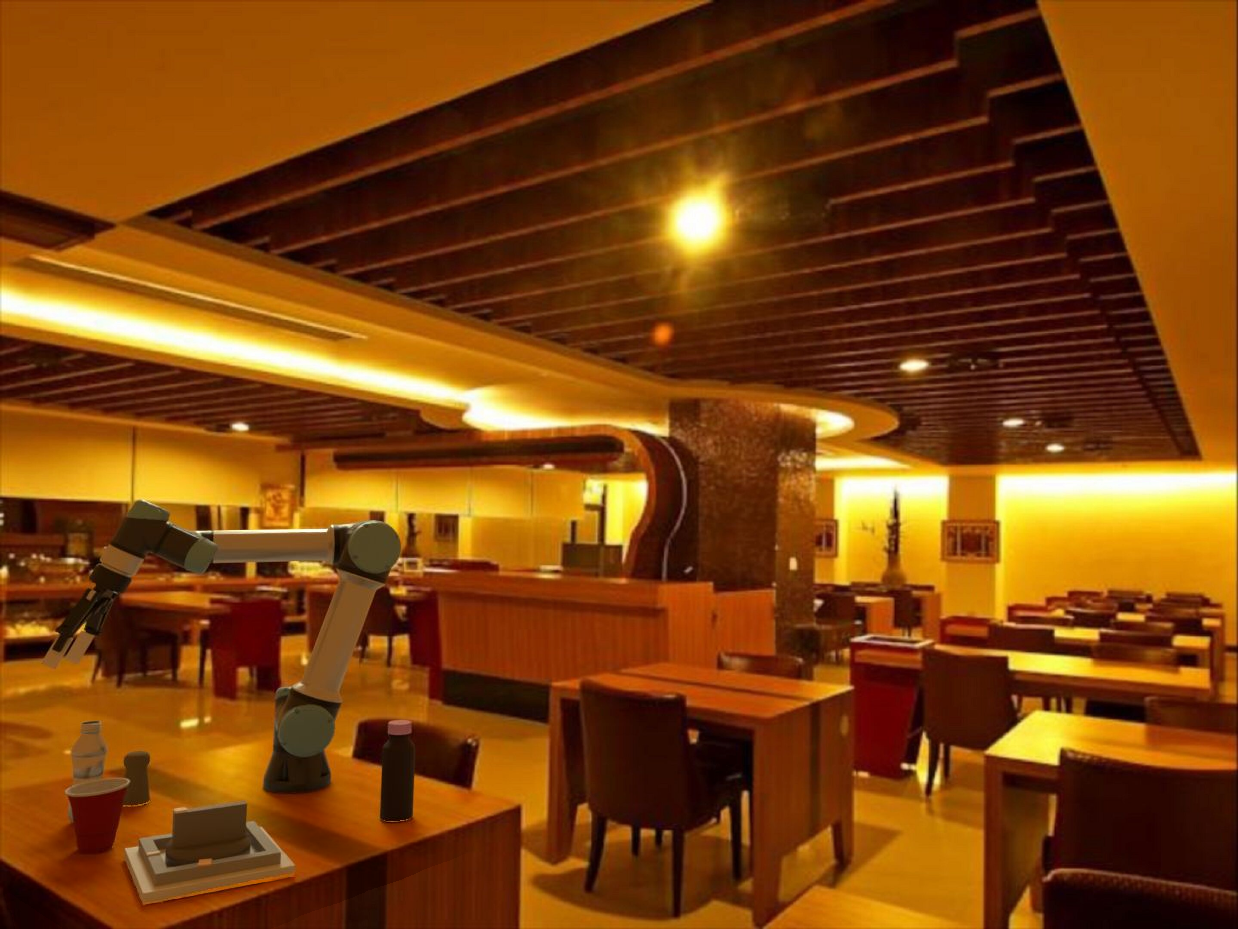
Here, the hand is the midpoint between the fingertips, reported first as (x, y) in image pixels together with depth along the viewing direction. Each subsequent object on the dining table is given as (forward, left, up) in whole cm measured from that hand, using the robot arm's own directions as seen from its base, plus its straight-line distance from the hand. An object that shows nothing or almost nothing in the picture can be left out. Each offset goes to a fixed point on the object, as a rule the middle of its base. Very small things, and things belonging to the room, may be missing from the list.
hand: (60, 664), depth 190 cm
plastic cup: (-6, +20, -32) cm, 39 cm away
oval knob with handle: (-22, +41, -30) cm, 56 cm away
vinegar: (-61, +31, -32) cm, 76 cm away
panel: (-22, +41, -32) cm, 57 cm away
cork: (-16, -7, -32) cm, 37 cm away
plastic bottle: (-6, +2, -32) cm, 33 cm away
